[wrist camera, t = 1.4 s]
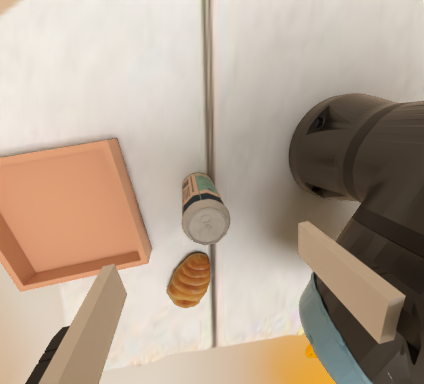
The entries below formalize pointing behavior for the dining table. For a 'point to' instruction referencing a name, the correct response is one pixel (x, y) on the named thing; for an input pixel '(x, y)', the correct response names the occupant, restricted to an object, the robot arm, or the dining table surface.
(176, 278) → the pastry
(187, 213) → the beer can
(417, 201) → the robot arm
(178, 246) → the dining table surface
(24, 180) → the terracotta dish
